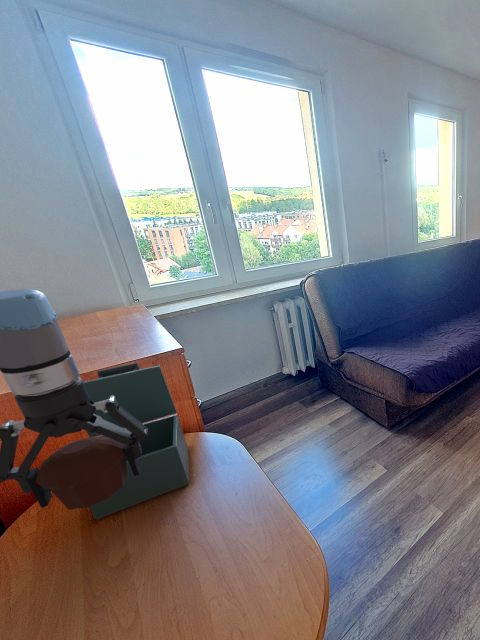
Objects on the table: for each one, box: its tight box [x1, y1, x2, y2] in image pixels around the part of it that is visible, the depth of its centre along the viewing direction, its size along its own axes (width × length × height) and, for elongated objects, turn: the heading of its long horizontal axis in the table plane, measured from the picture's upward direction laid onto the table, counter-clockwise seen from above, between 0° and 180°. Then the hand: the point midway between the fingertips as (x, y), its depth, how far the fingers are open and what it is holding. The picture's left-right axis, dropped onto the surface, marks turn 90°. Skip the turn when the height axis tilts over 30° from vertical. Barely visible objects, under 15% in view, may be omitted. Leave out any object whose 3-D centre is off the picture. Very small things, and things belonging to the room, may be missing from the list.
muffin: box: [35, 436, 128, 510], centre depth 60 cm, size 12×11×10 cm
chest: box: [89, 413, 190, 520], centre depth 88 cm, size 16×19×13 cm
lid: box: [83, 362, 178, 438], centre depth 90 cm, size 17×19×8 cm
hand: (94, 485), depth 62 cm, fingers closed on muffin, 12 cm apart
